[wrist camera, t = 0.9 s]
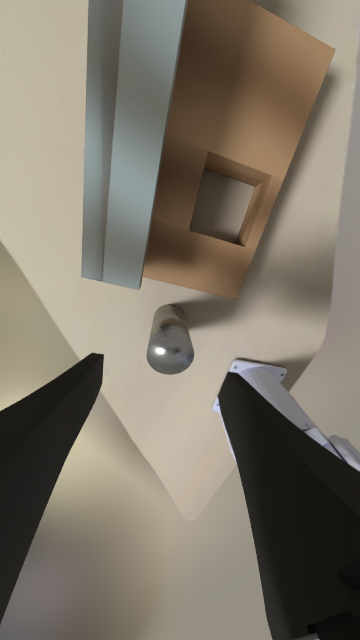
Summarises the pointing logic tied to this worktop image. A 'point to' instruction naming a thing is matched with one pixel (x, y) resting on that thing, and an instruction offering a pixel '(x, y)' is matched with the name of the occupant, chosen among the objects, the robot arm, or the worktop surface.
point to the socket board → (187, 132)
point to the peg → (169, 341)
